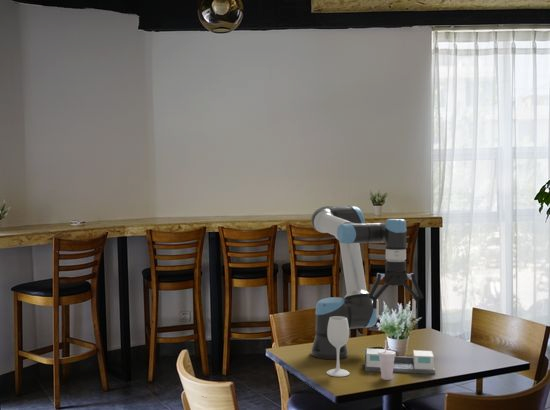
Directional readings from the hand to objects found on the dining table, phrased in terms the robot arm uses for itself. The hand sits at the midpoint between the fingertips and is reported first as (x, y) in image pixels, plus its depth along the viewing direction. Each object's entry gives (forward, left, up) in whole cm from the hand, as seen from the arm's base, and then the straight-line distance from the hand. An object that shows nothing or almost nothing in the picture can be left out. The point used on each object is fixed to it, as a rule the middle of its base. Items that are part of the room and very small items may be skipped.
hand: (395, 317), depth 236 cm
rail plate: (+2, +8, -22) cm, 23 cm away
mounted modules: (+2, +8, -20) cm, 22 cm away
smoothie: (-3, -5, -22) cm, 23 cm away
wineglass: (-21, -2, -22) cm, 30 cm away
